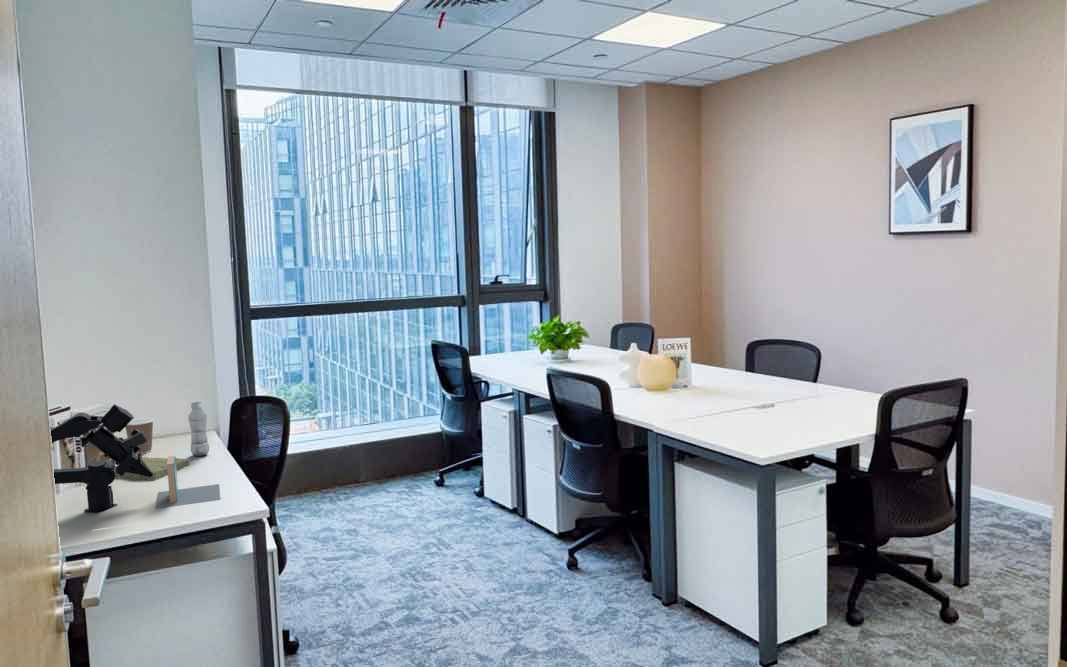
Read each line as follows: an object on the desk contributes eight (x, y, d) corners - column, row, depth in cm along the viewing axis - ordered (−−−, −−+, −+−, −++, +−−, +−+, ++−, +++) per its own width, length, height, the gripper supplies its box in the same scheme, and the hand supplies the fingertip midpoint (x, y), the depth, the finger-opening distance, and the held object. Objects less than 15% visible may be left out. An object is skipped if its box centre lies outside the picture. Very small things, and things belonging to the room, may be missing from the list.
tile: (170, 502, 236) (166, 464, 235) (171, 493, 245) (168, 456, 244) (177, 501, 237) (174, 463, 236) (178, 492, 246) (175, 455, 245)
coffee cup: (137, 448, 308) (135, 418, 307) (161, 448, 307) (159, 418, 306) (120, 455, 298) (117, 424, 297) (145, 455, 297) (142, 424, 296)
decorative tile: (141, 465, 285) (140, 455, 284) (190, 466, 280) (189, 456, 280) (104, 480, 267) (103, 469, 266) (155, 481, 262) (154, 471, 262)
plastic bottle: (203, 452, 298) (199, 400, 296) (213, 454, 294) (209, 402, 292) (187, 456, 293) (183, 403, 291) (197, 458, 289) (193, 405, 287)
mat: (154, 510, 231) (154, 508, 231) (158, 493, 247) (158, 492, 247) (220, 500, 238) (220, 499, 238) (219, 485, 254) (219, 483, 254)
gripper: (125, 429, 226) (170, 462, 231) (131, 417, 243) (172, 448, 248) (96, 459, 224) (142, 491, 229) (104, 445, 241) (146, 475, 246)
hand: (152, 475), depth 238 cm, fingers closed
